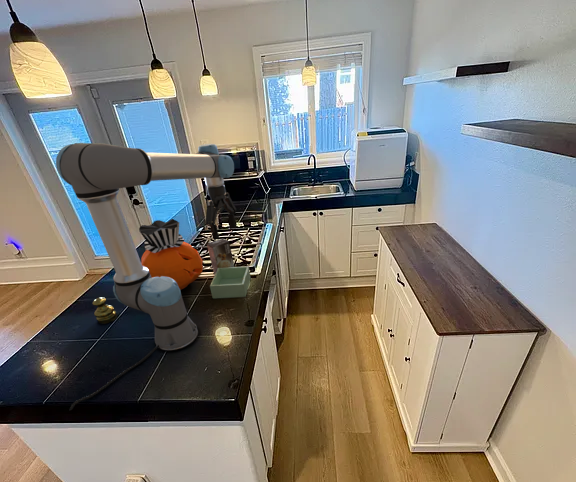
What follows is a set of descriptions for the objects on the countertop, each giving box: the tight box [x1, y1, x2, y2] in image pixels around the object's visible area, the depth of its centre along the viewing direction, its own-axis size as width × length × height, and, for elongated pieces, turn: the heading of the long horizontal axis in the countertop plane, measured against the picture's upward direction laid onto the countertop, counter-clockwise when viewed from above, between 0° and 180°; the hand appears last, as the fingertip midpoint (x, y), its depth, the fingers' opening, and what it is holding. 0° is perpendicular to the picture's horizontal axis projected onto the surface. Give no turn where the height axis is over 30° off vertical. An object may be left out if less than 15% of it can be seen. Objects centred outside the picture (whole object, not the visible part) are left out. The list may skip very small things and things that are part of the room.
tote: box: [209, 265, 252, 299], centre depth 142 cm, size 17×15×6 cm
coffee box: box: [206, 238, 236, 275], centre depth 152 cm, size 9×6×16 cm
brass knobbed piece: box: [92, 297, 118, 325], centre depth 127 cm, size 7×7×10 cm
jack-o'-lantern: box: [138, 218, 204, 291], centre depth 142 cm, size 27×26×30 cm
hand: (225, 233), depth 144 cm, fingers open, 13 cm apart
